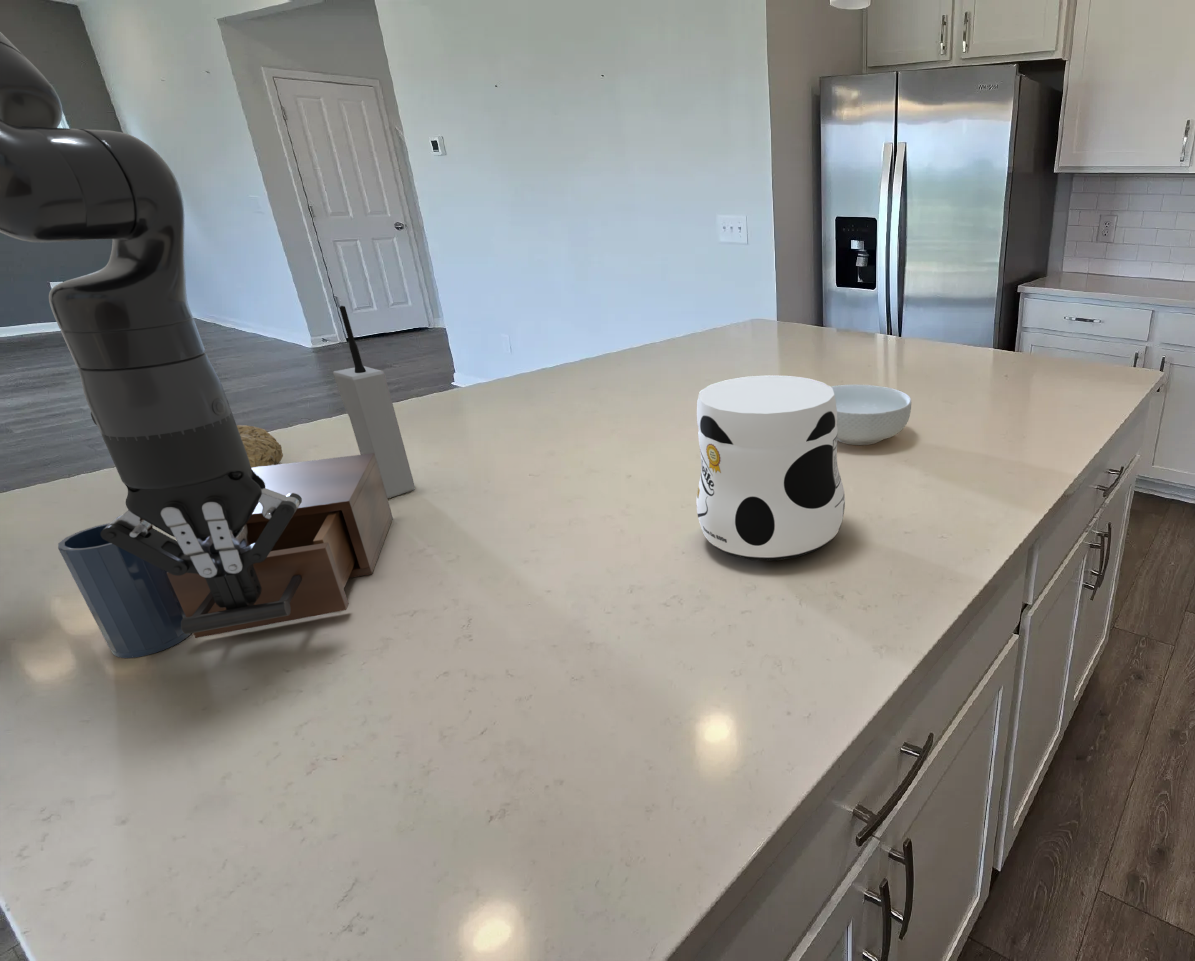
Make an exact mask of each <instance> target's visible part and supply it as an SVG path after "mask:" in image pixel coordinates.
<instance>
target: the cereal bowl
mask: <svg viewBox="0 0 1195 961" xmlns="http://www.w3.org/2000/svg"><path fill="white" fill-rule="evenodd" d="M829 386H830V385H829ZM830 387H832V388H833V392H834V395H835V399H836V408H837V424H836V425H837V429H838V432H837V442H840V443H842V444H845V445H851V446H869V445H875V444H878V443H879V442H881V441H882V440H886V439H889V438H892V437H894V436H895V435H897V434H899V433H900V432H901V431H902V430H904V428H905V427H906V426H907V424H908V422H909V420H910V417H911V412H912V398H911V396H910V395H909V394H908V393H906V392H904V391H901V390H899V389H896V388H892V387H887V386H881V385H873V384H853V383H852V384H837V385H831V386H830Z"/></svg>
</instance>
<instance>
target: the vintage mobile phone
mask: <svg viewBox="0 0 1195 961" xmlns="http://www.w3.org/2000/svg"><path fill="white" fill-rule="evenodd" d="M338 309H339V311H340V312H339V313H340V315H341V318H342V322H343V325H344V329H345V333H346V336H347V340H348V347H349V351H350V354H351V358H352V361H353V365H354V366H353V367H349V368H343V369H339V370H334V371H332V375H333V378H334V381H335V385H336V387H337V390H338V392H339V396H340V398H341V399H340V400H341V401H342V404H343V408H344V410H345V411H346V413H347V416H348V418H349V420H350V424H351V428H352V430H353V434H354V437H355V438H354V439H355V441H356V444H357V448H358V451H359V455H363V454H371V453H375V457H376V460H377V464H378V467H379V471H380V474H381V478H382V481H383V484H384V488H385V491H386V495H387V498H388V499H391V498H394V497H397V496H400V495H403V494H406V493H409V492H412V491H414V490H415V489H416V485H415V482H414V478H413V474H412V471H411V467H410V463H409V460H408V455H407V451H406V448H405V445H404V441H403V437H402V433H401V429H400V426H399V422H398V418H397V415H396V411H395V408H394V404H393V399H392V396H391V392H390V388H389V385H388V381H387V378H386V373H385V372H384V371H383V370H380V369H377V368H373V367H369V366H365V365H364V364H363V360H362V358H361V354H360V350H359V347H358V344H357V343H356V341H355V336H354V333H353V330H352V326H351V322H350V319H349V316H348V312H347V309H346V306H345V305H340V306H339V307H338Z"/></svg>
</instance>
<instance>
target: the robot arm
mask: <svg viewBox="0 0 1195 961" xmlns="http://www.w3.org/2000/svg"><path fill="white" fill-rule="evenodd" d="M58 94H59V93H58V92H57V91H56V89H55V87H53V85H52V84H51V83H50V81H49V80H48V79H47V78H46V76H45V75H44V74H43V73H42V72H41V71H40V70H39V69H38V68H37V67H36V66H35V65H34V64H33V63H32V62H31V61H30V60H29V58H27V57H26V56H25V54H23V52H21V51H20V50H19V49H18V48H17V47H16V45H14V44H13V42H12V41H11V40H10V39H9V38H7V37H6V35H5V34H4V33H2V31H0V233H1V234H3V235H5V236H8V237H10V238H12V239H16V240H20V241H23V242H27V243H39V244H52V243H55V244H57V243H71V242H83V241H85V242H86V241H103V240H112V243H111V244H112V245H111V252H110V255H109V259H108V261H107V264H106V265H104V267H102V268H100V269H98V270H96V271H94V272H90V273H88V274H85V275H81V276H78V277H75V278H71V279H67V280H65V281H62V282H60V283H57V284H56V285H55V286H53V287H52V288H51V289H50V291H49V293H48V302H49V306H50V309H51V312H52V314H53V317H54V319H55V321H56V324H57V326H58V328H59V329H60V333H61V335H62V337H63V339H64V341H65V344H66V346H67V348H68V350H69V353H70V355H71V357H72V360H73V363H74V364H75V366H76V369H77V372H78V374H79V378H80V382H81V386H82V391H83V394H84V398H85V401H86V403H87V406H88V408H89V410H90V417H91V420H92V421H93V424H95V425H96V427H97V428H98V430H99V433H100V435H101V437H102V439H103V442H104V444H105V446H106V448H107V451H108V453H109V455H110V458H111V460H112V462H113V464H114V466H115V469H116V471H117V473H118V475H119V478H120V480H121V482H122V483H123V484H124V485H125V487H126V489H127V496H126V498H125V507H126V508H127V510H126V511H125V512H124V513H123V514H121V515H119V516H117V517H115V519H113V520H112V521H110V522H108V523H109V524H108V525H107V526H106V527H105V528H104V529H103V530H102V531H101V537H102V538H103V539H104V540H106V541H108V542H110V543H112V544H114V545H116V546H118V547H120V548H122V549H124V550H125V551H127V552H129V553H131V554H133V555H135V556H137V557H139V558H141V559H143V560H145V561H147V562H149V563H151V564H153V565H155V566H157V567H159V568H161V569H163V570H165V571H166V572H168V573H170V574H172V575H176V576H180V575H183V574H185V573H195V574H199V575H201V576H202V577H204V578H205V579H206V581H207V584H208V586H209V589H210V591H211V593H212V596H213V597H214V601H215V603H216V604H217V605H218V606H219V607H220V608H223V607H226V609H227V610H229V609H235V608H241V607H246V606H252V605H254V603H255V602H256V601H257V599H258V598H259V596H260V594H261V590H262V587H261V585H260V583H259V580H258V577H257V574H256V572H255V569H254V567H253V564H255V563H261V562H263V561H264V560H265V559H266V557H267V556H268V554H269V553H270V551H271V550H272V548H273V547H274V545H275V544H276V542H277V540H278V539H279V537H280V536H281V534H282V532H283V531H284V529H285V528H286V526H287V524H288V523H289V521H290V520H291V518H292V516H293V515H294V513H295V512H296V510H297V508H298V507H299V505H300V504H301V502H302V498H301V496H299V495H298V494H295V493H290V494H287V495H286V496H285V495H282V494H280V493H277V492H274V491H272V490H269V489H266V488H265V483H264V481H263V480H262V479H261V478H260V477H259V476H258V475H256V474H255V472H254V471H253V470H252V468H251V466H250V462H249V459H248V456H247V453H246V450H245V447H244V445H243V442H242V439H241V436H240V433H239V431H238V428H237V425H238V424H237V422H236V420H235V416H234V415H233V411H232V409H231V406H230V403H229V400H228V397H227V395H226V391H225V389H224V387H223V384H222V381H221V379H220V378H219V376H218V373H217V371H216V370H215V368H214V366H213V365H212V363H211V361H210V358H209V356H208V354H207V352H206V349H205V345H204V342H203V341H202V338H201V335H200V332H199V329H198V327H197V324H196V321H195V319H194V317H193V314H192V311H191V307H190V306H189V303H188V294H187V279H186V262H185V205H184V197H183V193H182V191H181V190H182V189H181V187H180V184H179V182H178V180H177V178H176V175H175V173H174V172H173V170H172V169H171V167H170V166H169V164H168V163H167V162H166V160H164V159H163V157H162V156H161V155H160V154H159V152H157V151H155V150H154V148H152V147H151V146H150V145H149V144H148V143H146V142H144V141H143V140H141V139H140V138H139V137H135V136H134V135H131V134H128V133H125V132H121V131H114V130H107V129H90V128H89V129H86V128H70V127H69V128H67V127H66V128H65V127H59V126H60V124H61V122H62V118H63V104H62V101H61V98H60V96H59V95H58ZM258 503H261V504H262V506H263V510H262V515H263V516H264V517H265V518H266V519H270V520H269V522H268V523H267V525H266V526H265V528H264V530H263V531H262V533H261V534H260V536H259V538H258V539H257V541H256V542H255V543H254V544H251V545H249V543H248V539H247V526H246V523H247V522H248V520H249V519H250V517H251V515H252V513H253V512H254V510H255V508H256V506H257V504H258ZM153 527H155V528H153ZM157 529H159V530H160V531H159V530H157ZM161 531H162V532H161ZM163 532H164V533H163ZM166 534H167V535H166ZM170 536H171V537H170ZM172 537H173V538H172ZM174 538H175V539H174Z"/></svg>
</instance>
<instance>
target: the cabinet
mask: <svg viewBox="0 0 1195 961" xmlns="http://www.w3.org/2000/svg"><path fill="white" fill-rule="evenodd" d="M252 470H253V471H254V472H255V474H256V475H258V476H259V477H260V478H261V479H262V480H263V481H264V483H265V488H266V489H269V490H272V491H274V492H277V493H280V494H282V495H285V496H286V495H287V494H290V493H295V494H298V495H299V496H301V498H302V502H301V504H300V505H299V507H298V508H297V510H296V512H295V513H294V515H293V516H292V517H296V516H303V515H310V514H317V513H324V512H331V511H339V510H342V513H343V516H344V519H345V522H346V525H347V529H348V532H349V535H350V538H351V541H352V544H353V547H354V551H355V554H356V557H357V559H356V562H355V564H354V566H353V569H352V571H351V573H350V576H349V578H348V579H352V578H358V577H363V576H370V575H372V574H373V572H374V570H375V567H376V565H377V562H378V559H379V556H380V554H381V551H382V549H383V545H384V543H385V540H386V538H387V535H388V532H389V530H390V526H391V525H392V521H393V518H394V515H393V513H392V510H391V506H390V502H389V498H387V495H386V491H385V488H384V484H383V481H382V478H381V474H380V471H379V467H378V464H377V460H376V457H375V453H371V454H363V455H361V454H355V455H347V456H339V457H330V458H321V459H313V460H303V461H295V462H287V463H278V464H277V465H270V466H261V467H253V468H252ZM262 510H263V506H262V504H261V503H258V504H257V506H256V508H255V510H254V512H253V513H252V515H251V517H250V519H249V520H248V522H247V523H254V522H261V521H268V520H270V519H266V518H265V517H264V516H263V515H262ZM247 523H246V524H247Z"/></svg>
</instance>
